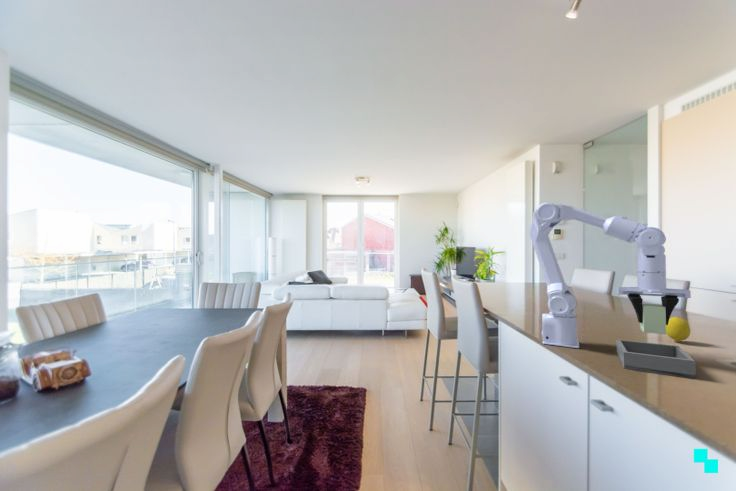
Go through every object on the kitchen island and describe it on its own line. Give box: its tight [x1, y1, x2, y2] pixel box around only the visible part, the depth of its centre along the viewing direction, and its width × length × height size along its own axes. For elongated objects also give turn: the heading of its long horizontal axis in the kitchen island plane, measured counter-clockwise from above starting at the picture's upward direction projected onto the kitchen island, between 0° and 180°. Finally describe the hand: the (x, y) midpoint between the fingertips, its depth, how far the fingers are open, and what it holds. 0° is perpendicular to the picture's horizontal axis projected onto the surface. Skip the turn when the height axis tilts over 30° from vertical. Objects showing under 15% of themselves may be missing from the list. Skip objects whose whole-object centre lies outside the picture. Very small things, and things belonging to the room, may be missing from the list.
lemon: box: [665, 315, 691, 343], centre depth 98 cm, size 6×6×8 cm
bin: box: [615, 338, 697, 380], centre depth 80 cm, size 13×13×4 cm
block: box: [639, 302, 667, 335], centre depth 84 cm, size 4×4×7 cm
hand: (652, 323), depth 84 cm, fingers closed on block, 4 cm apart
